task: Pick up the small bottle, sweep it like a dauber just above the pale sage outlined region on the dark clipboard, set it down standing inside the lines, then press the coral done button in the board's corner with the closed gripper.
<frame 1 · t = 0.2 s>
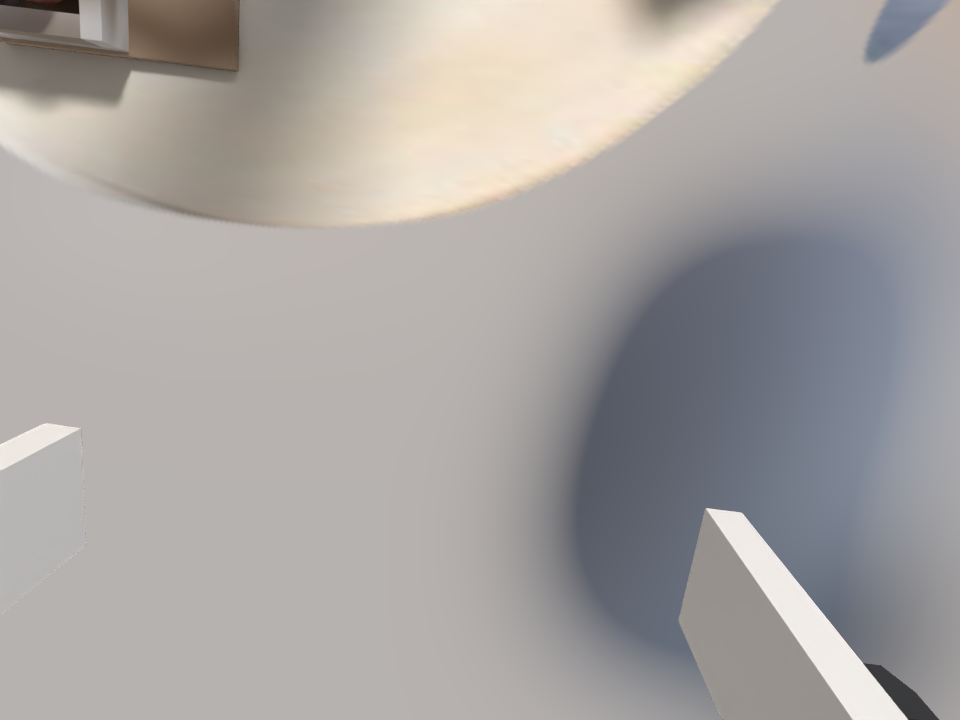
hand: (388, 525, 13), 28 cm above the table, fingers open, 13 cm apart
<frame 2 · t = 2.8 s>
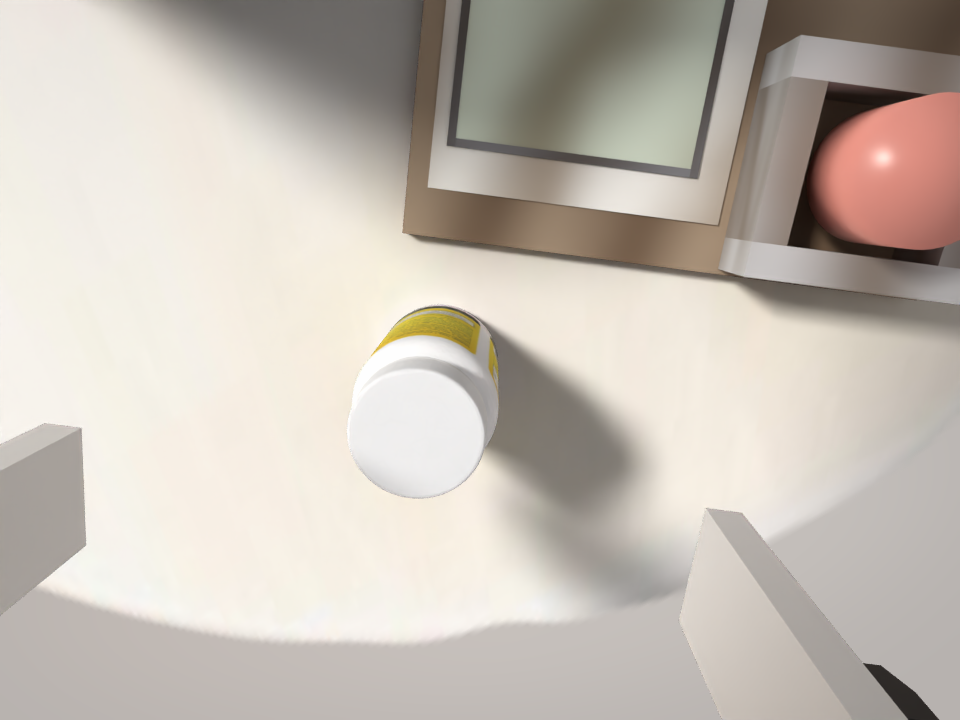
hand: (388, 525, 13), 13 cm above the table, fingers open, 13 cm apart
supplement bottle: (441, 358, 25), on the table
board: (693, 74, 22), on the table
button: (901, 175, 19), point 4 cm above the table, slide at 0.0 cm
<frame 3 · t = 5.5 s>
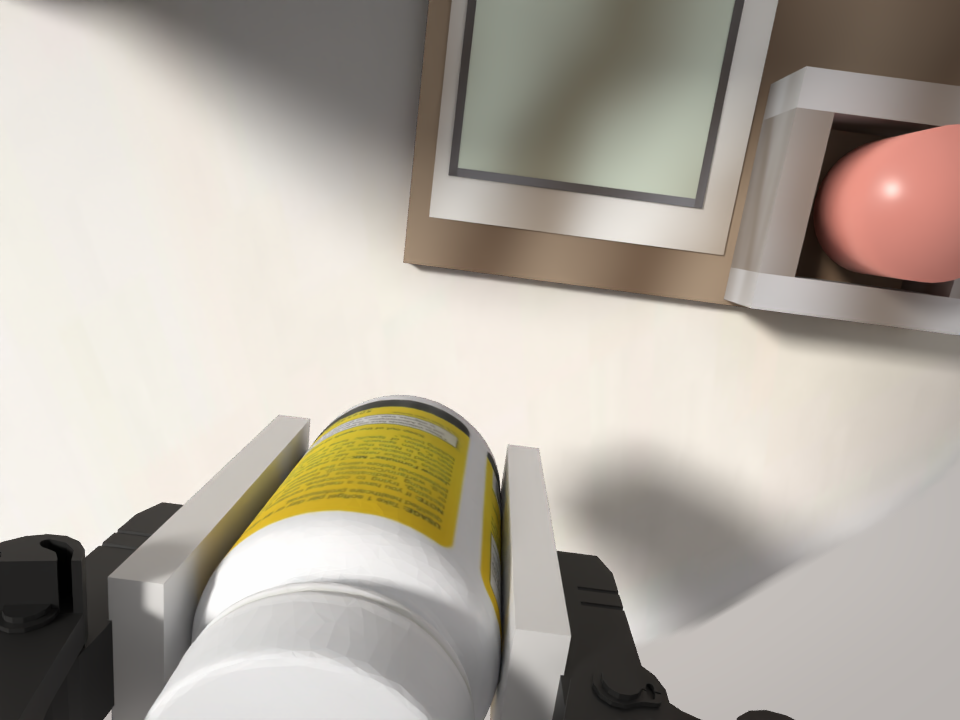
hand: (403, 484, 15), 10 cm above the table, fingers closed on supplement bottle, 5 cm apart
supplement bottle: (407, 479, 15), point 10 cm above the table, touching gripper
board: (697, 104, 22), on the table
button: (910, 207, 19), point 4 cm above the table, slide at 0.0 cm
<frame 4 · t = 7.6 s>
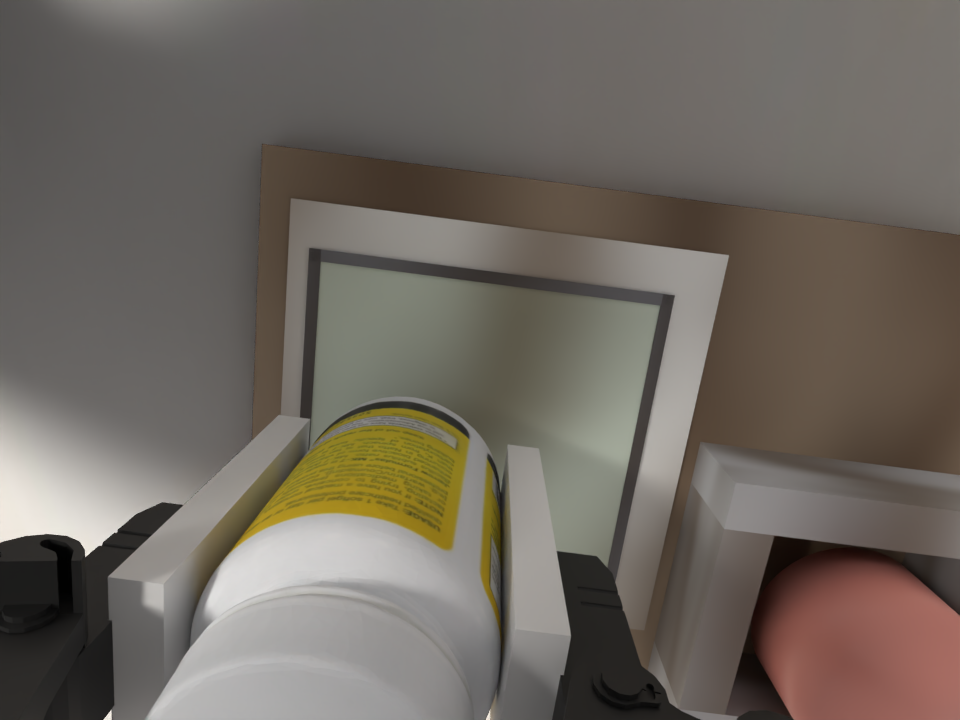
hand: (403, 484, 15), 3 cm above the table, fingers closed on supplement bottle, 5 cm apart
supplement bottle: (406, 480, 15), point 2 cm above the table, touching gripper
board: (610, 448, 17), on the table
button: (872, 666, 14), point 4 cm above the table, slide at 0.0 cm
when the fingers open (1 cm above the table, at t = 10.0 s): supplement bottle stays where it is, resting on board.
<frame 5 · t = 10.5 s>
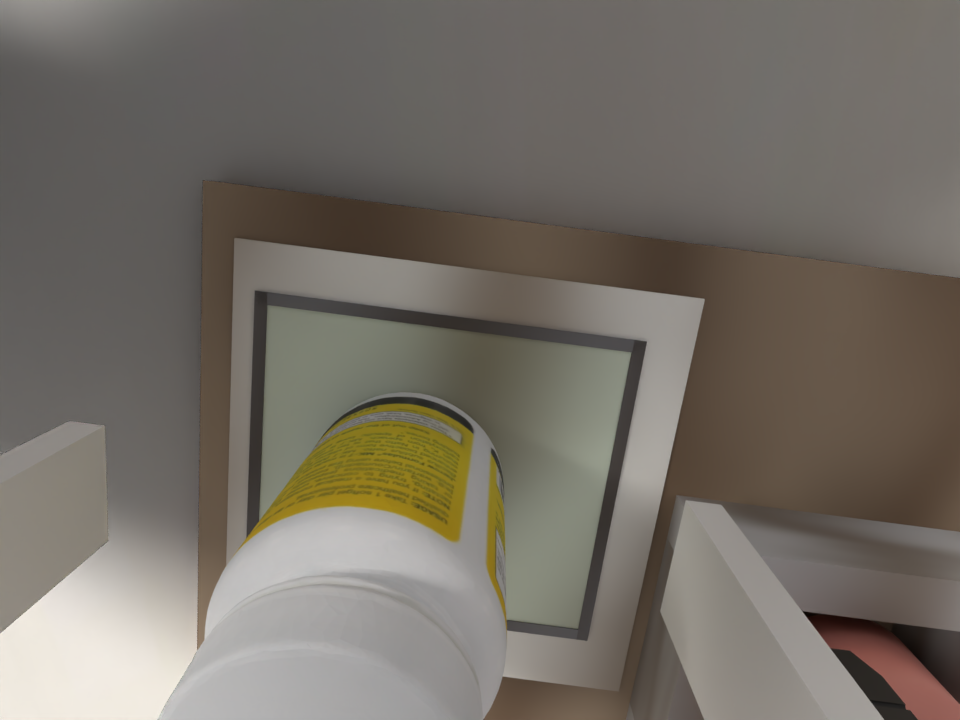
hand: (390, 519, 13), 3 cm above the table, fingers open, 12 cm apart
supplement bottle: (411, 475, 15), point 1 cm above the table, touching board
board: (581, 499, 16), on the table
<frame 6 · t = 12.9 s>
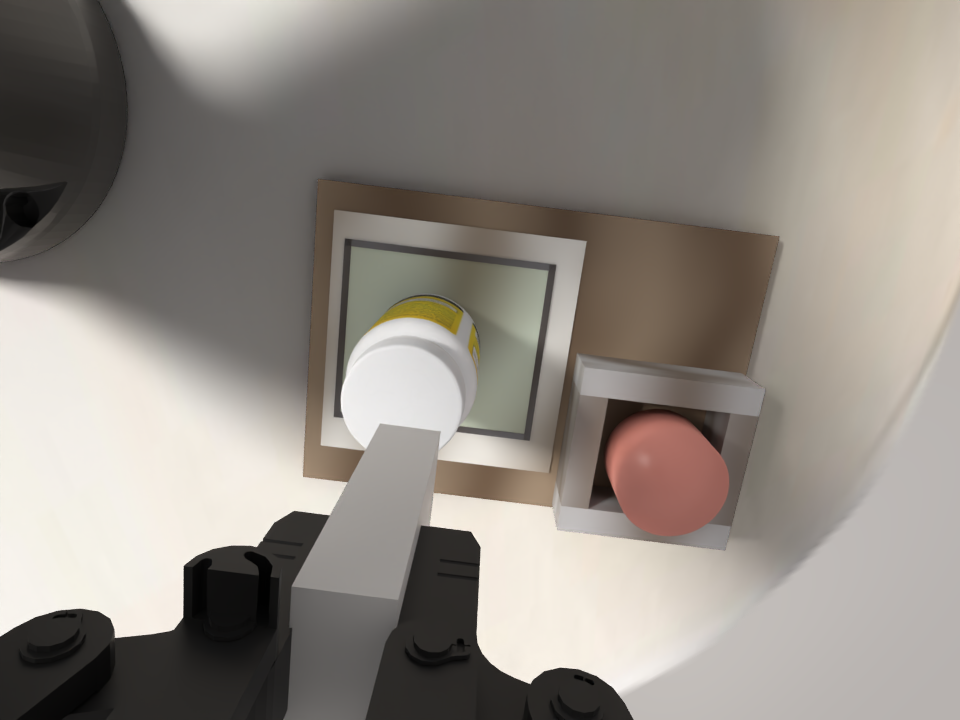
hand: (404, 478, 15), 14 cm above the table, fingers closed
supplement bottle: (429, 343, 28), point 1 cm above the table, touching board
board: (525, 360, 28), on the table
button: (662, 470, 25), point 4 cm above the table, slide at 0.0 cm
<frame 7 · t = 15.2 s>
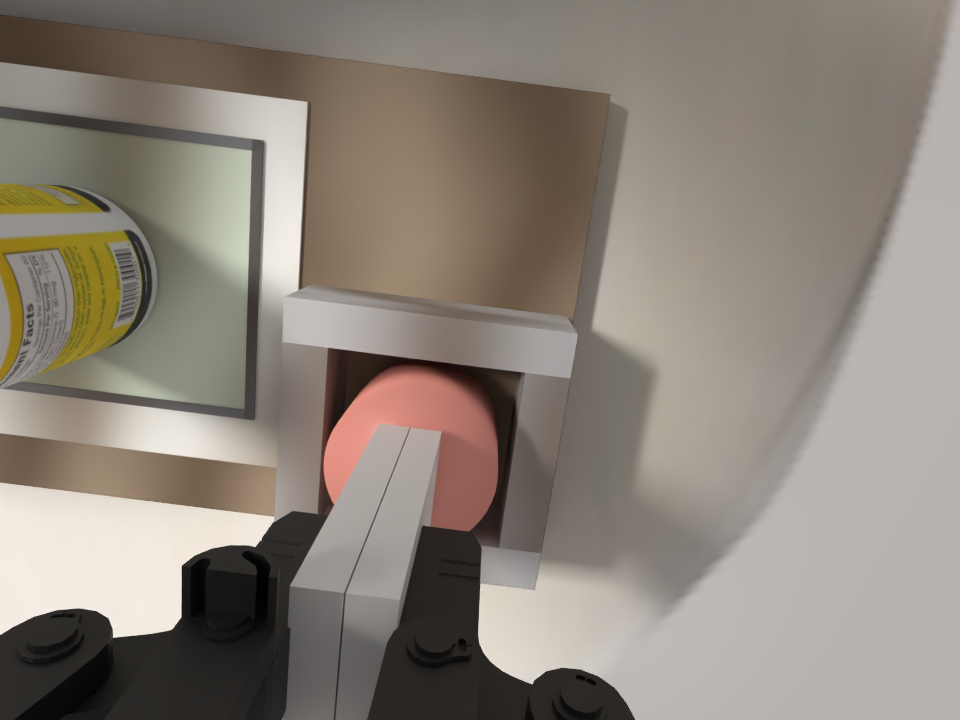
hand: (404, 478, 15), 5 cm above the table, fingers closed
supplement bottle: (87, 269, 18), point 1 cm above the table, touching board
board: (247, 297, 19), on the table
button: (417, 448, 17), point 3 cm above the table, slide at 1.0 cm, touching gripper
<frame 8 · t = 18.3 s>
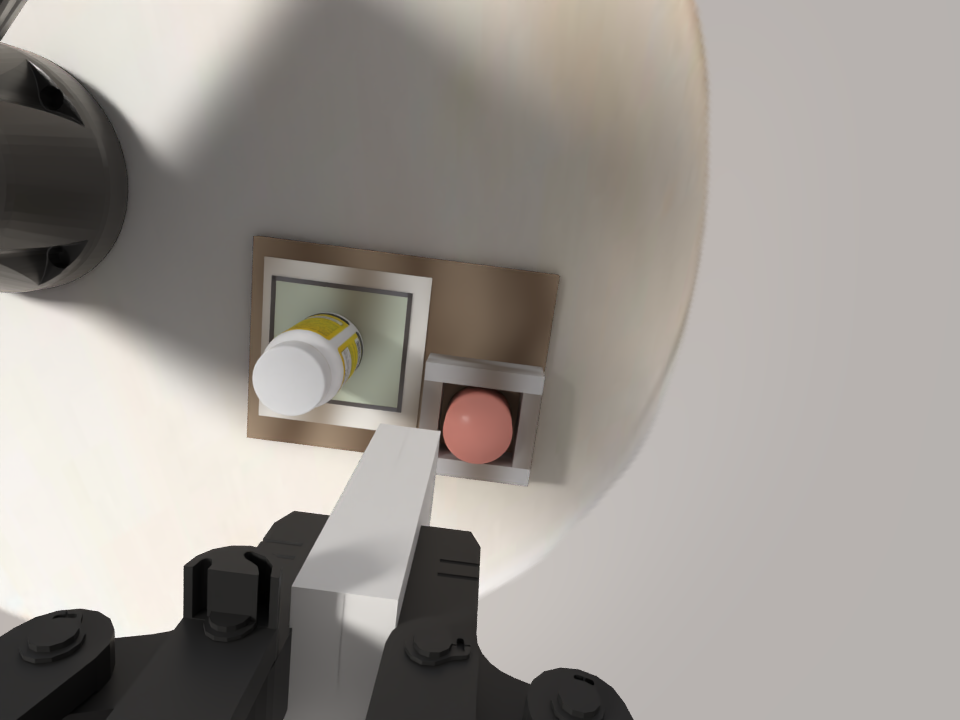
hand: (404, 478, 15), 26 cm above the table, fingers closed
supplement bottle: (330, 345, 41), point 1 cm above the table, touching board
board: (398, 357, 41), on the table
button: (478, 423, 40), point 3 cm above the table, slide at 1.2 cm
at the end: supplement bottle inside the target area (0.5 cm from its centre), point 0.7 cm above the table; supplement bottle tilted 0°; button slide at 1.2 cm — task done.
